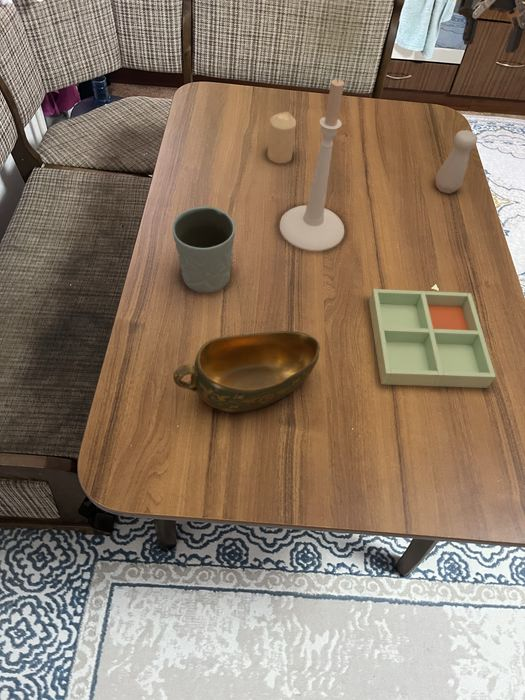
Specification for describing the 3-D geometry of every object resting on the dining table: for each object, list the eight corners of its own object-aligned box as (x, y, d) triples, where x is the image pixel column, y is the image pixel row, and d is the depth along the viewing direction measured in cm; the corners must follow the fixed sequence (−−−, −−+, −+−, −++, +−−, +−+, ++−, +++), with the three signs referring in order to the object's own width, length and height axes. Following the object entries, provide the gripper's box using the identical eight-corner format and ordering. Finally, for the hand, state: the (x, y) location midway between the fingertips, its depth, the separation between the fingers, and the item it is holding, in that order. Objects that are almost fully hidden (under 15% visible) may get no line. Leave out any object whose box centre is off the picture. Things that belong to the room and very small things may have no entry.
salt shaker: (457, 181, 117) (481, 127, 106) (460, 198, 114) (485, 144, 103) (431, 178, 117) (451, 124, 106) (433, 195, 114) (455, 141, 103)
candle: (277, 146, 120) (281, 104, 112) (296, 156, 119) (302, 114, 110) (262, 157, 118) (265, 114, 110) (281, 167, 116) (286, 125, 108)
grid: (463, 306, 96) (471, 292, 93) (486, 388, 86) (496, 377, 83) (368, 302, 95) (373, 288, 92) (380, 385, 85) (386, 373, 82)
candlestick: (334, 259, 101) (370, 110, 76) (270, 241, 103) (285, 90, 78) (350, 217, 108) (387, 69, 84) (290, 201, 110) (309, 51, 85)
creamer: (194, 345, 88) (190, 305, 79) (314, 364, 87) (323, 326, 79) (175, 413, 80) (169, 377, 72) (306, 434, 79) (316, 401, 71)
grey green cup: (240, 264, 99) (242, 213, 89) (223, 304, 93) (223, 254, 83) (189, 251, 100) (185, 200, 90) (169, 290, 94) (162, 239, 84)
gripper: (491, -74, 87) (463, 38, 93) (567, -56, 89) (535, 53, 96) (469, -60, 94) (444, 44, 100) (540, -43, 96) (512, 57, 102)
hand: (488, 48), depth 98 cm, fingers open, 8 cm apart
